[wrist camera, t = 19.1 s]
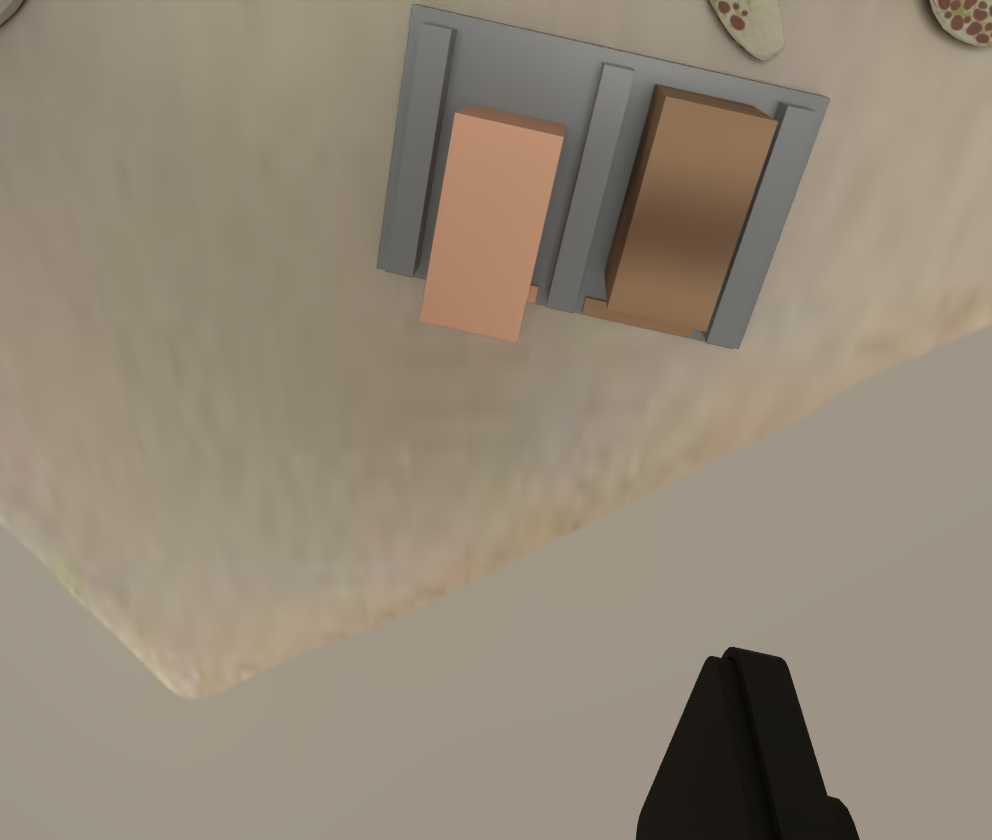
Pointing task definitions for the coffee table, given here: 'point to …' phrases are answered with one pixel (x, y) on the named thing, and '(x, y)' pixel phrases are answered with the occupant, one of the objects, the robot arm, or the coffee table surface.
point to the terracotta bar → (490, 220)
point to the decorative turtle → (757, 27)
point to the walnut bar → (685, 205)
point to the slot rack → (577, 155)
